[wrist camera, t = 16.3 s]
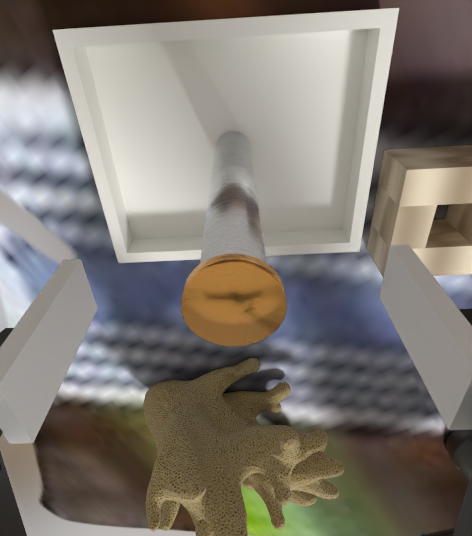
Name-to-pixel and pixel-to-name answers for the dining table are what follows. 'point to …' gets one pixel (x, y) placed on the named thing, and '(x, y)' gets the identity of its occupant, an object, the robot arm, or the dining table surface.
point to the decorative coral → (229, 454)
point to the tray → (232, 123)
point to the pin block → (425, 208)
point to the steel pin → (233, 257)
